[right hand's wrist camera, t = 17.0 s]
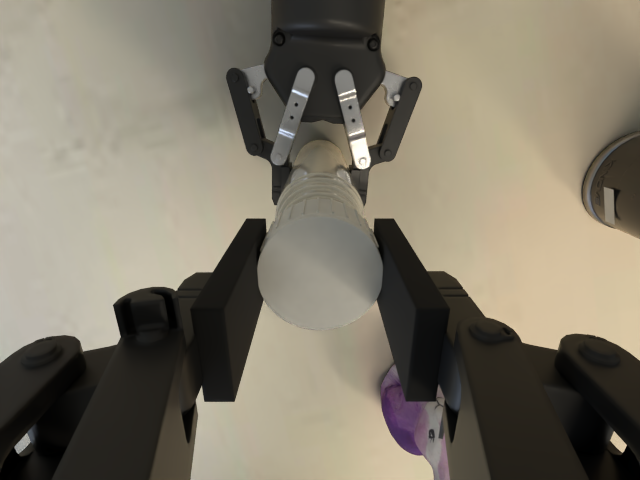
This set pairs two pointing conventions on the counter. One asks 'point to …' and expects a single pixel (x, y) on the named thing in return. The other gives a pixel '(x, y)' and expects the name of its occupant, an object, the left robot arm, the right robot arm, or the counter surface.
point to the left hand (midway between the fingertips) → (318, 210)
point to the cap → (320, 265)
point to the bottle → (320, 178)
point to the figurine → (415, 424)
